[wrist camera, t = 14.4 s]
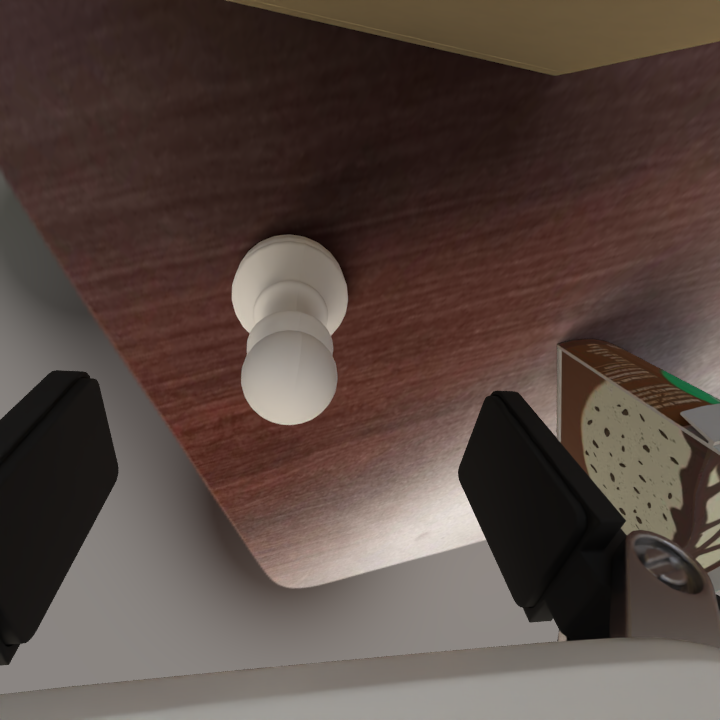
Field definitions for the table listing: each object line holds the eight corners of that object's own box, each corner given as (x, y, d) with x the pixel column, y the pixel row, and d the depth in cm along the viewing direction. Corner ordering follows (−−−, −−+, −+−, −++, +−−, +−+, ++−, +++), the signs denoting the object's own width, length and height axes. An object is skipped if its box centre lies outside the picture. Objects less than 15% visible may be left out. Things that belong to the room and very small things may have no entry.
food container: (638, 440, 28) (791, 577, 19) (556, 466, 28) (673, 613, 19) (663, 287, 21) (914, 392, 12) (557, 322, 21) (734, 450, 13)
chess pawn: (328, 344, 20) (350, 479, 12) (227, 323, 18) (180, 460, 11) (358, 251, 17) (408, 344, 10) (246, 218, 16) (202, 297, 8)
